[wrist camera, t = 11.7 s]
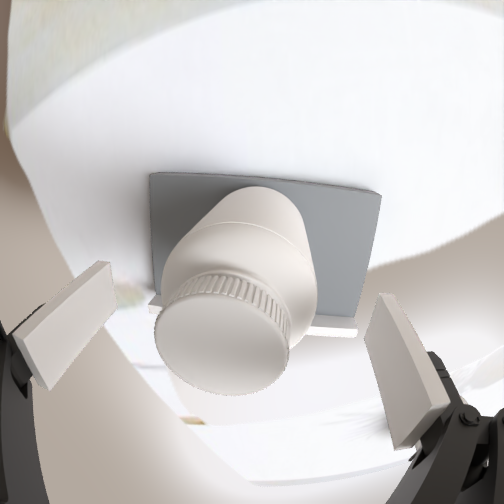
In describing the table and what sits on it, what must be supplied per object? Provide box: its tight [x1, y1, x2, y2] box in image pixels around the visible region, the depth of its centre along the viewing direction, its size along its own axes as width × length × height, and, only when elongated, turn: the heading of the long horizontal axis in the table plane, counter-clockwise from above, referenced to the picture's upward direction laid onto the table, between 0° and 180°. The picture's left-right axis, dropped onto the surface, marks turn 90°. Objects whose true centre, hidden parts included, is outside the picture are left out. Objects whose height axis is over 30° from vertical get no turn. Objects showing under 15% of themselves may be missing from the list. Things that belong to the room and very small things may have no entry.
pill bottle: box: [154, 186, 318, 396], centre depth 17 cm, size 8×8×15 cm
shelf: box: [148, 172, 382, 338], centre depth 25 cm, size 14×20×4 cm
